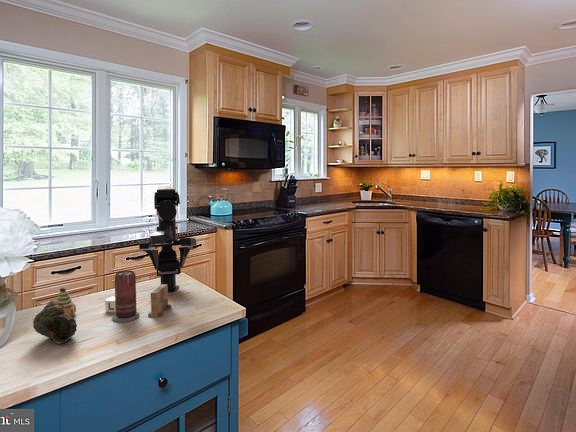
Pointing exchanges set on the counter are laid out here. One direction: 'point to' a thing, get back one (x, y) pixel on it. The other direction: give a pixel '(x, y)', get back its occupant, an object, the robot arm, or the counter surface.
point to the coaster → (125, 318)
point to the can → (125, 294)
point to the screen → (159, 301)
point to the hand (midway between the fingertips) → (168, 268)
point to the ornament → (65, 302)
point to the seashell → (55, 323)
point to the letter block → (110, 304)
